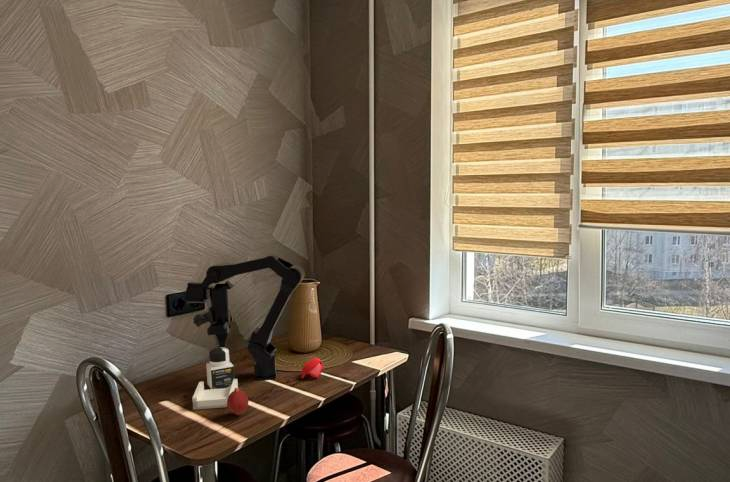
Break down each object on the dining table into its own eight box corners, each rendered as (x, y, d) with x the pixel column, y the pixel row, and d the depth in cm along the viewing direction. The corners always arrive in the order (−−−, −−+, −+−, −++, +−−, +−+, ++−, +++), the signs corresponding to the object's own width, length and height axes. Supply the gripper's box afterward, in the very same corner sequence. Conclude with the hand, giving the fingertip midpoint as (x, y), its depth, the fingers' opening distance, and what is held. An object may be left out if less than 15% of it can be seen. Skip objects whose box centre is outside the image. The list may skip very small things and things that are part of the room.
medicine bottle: (212, 391, 177) (209, 354, 176) (207, 384, 184) (204, 348, 182) (235, 387, 180) (232, 350, 179) (229, 380, 187) (227, 344, 185)
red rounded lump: (229, 411, 162) (227, 384, 161) (250, 410, 162) (248, 382, 161) (226, 420, 156) (224, 391, 155) (247, 418, 157) (246, 390, 156)
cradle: (238, 389, 178) (237, 378, 178) (233, 406, 165) (233, 394, 165) (200, 392, 177) (199, 381, 176) (193, 409, 164) (192, 398, 163)
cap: (321, 362, 192) (306, 354, 191) (327, 361, 187) (311, 353, 185) (312, 384, 189) (296, 377, 188) (317, 384, 184) (301, 376, 182)
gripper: (198, 297, 196) (201, 342, 198) (189, 310, 177) (192, 359, 179) (231, 295, 197) (234, 340, 199) (225, 308, 179) (228, 356, 181)
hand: (222, 348), depth 189 cm, fingers closed
